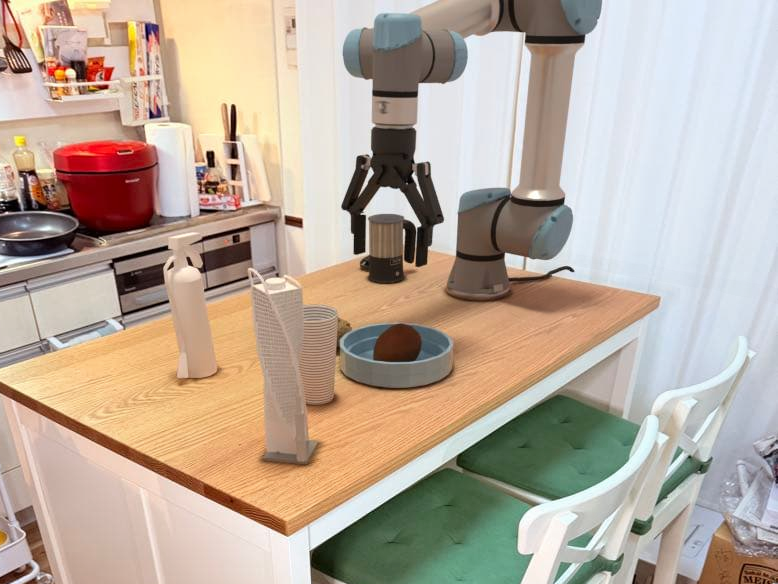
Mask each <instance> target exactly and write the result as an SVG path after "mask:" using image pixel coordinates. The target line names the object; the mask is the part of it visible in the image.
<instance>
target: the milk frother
mask: <svg viewBox="0 0 778 584" xmlns="http://www.w3.org/2000/svg"><path fill="white" fill-rule="evenodd" d="M405 218H406V217H405V216H404V215H401V214H396V213H377V214H372V215H370V216H368V217H367V220H368V244H369V246H368V248H369V249H368V250H369V255H367V256H365V257H363V258H362V259H361V260H360V261H359V267H360V268H361V269H362V270H364V271H369V273H368V277H367V279H368V280H369V281H371V282H374V283H380V284H393V283H397V282H401V281H402V280H404V278H405V275H404V262H405V263H406V264H413V263H414V262H415V259H416V241H417V227H416V225H415V224H414V222H412V221H411V220H409V219H405Z"/></svg>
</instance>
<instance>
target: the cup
mask: <svg viewBox="0 0 778 584" xmlns="http://www.w3.org/2000/svg"><path fill="white" fill-rule="evenodd" d="M303 311H304V335H303V347H302V355H301V361H300V366H299V370H300V374H301V378H302V383H303V388H304V394H305V401H306V404H307V405H314V406H315V405H324V404H327V403H329V402H331V401H332V400H333V399H334V396H335V380H336V379H335V378H336V362H337V347H336V345H337V327H338V318H339V311H338V309H337V308H335V307H333V306H329V305H325V304H303Z"/></svg>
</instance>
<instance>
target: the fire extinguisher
mask: <svg viewBox="0 0 778 584" xmlns="http://www.w3.org/2000/svg"><path fill="white" fill-rule="evenodd" d="M202 234H203V233H202V232H193V231H192V232H187V233H183V234H177V235H173V236H168V238H167V239H168V240H167V243H168V244H167V246H168V247H167V249H168V250H172V251H173V252H172V253H173V255H171V256H169V257H168V259H167V261H166V262H165V264H164V266H163V268H162V269H163V278H164V285H165V288H166V293H167V298H168V301H169V302H168V303H169V307H170V313H171V317H172V322H173V327H174V332H175V337H176V341H177V347H178V351H179V354H178V363H177V372H176V377H177V378H178V379H183V378H189V379H190V378H191V379H203V378H206V377H207V378H208V377H211V376H212V375H214V374H216V373H217V372H218V364H217V358H216V351H215V345H214V340H213V334H212V328H211V324H210V317H209V311H208V305H207V300H206V293H205V289H204V282H203V277H202V273H201V272H200V270H199V269H202V267H203V265H204V262H203V260H202V257H201V255H200V253H199V252H198V251H197V250H196V249H195V248H194V247H193V246H191V245H192V244H194V243H197V242H199V241H201V240H202V239H203V235H202ZM186 255H187V256H188V257H189V258H190V261H191V263H192V265H189V263H188V259H187V257H186ZM172 263H173V267H171V268H170V269H169V267H170V266H171V264H172Z"/></svg>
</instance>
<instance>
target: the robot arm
mask: <svg viewBox="0 0 778 584" xmlns="http://www.w3.org/2000/svg"><path fill="white" fill-rule="evenodd" d="M602 7H603V0H436V1H434V2H431V3H428V4H427V5H425V6H422V7H420V8H417V9H416V10H414V11H411V12H409V13H400V12H396V13H395V12H385V13H384V12H381V13H378V14H377V15H375V18H374V21H373V22H374V23H373V27H372V28H369V27H362V28H353V29H352V30H351V31H349V32H348V33H347V35H346V36H345V39H344V42H343V44H342V59H343V65H344V67H345V69H346V71H347V73H348V74H349V75H351V76H352V77H354V78H358V79H364V80H365V81H368V80H372V89H371V123H372V124H373V125H374V126H373V127H372V128H371V129H370V150H371V152H372V156H370V154H368V153H367V154H361V155H357V156H356V159H355V169H354V172H353V174H352V176H351V179H350V182H349V184H348V187H347V190H346V192H345V195H344V198H343V201H342V203H341V205H340V206H341V210H343V211H346V212H347V213H348V214H349V215H350V233H351V234H352V235H353V252H352V253H353V255H356V256H358V255H362V254H364V253H366V250H367V249H366V246H367V245H366V244H367V214H365V211H364V210H365V209H366V208H367V206H368V205H369V204H370V202H371V201H372V200H373V198H374V197H375V196H376V194H377V192H378V191H379V190H380V188H390V189H393V190H399V191H400V192H401V193H402V194H403V195H404V196H405V198H406V200H407V202H408V203H409V206H410V207H411V209H412V211H413V213H414V214H415V216H416V218H417V220H418V222H419V223H420V226H418V227H416V246H415V260H414V262H415V263H414V266H415V268H421V267H423V266H427V265H428V258H429V257H428V256H429V247H432V245H433V236H434V227H435V226H437V225H439V224H443V223H444V221H445V217H444V213H443V210H442V206H441V204H440V201H439V197H438V195H437V191H436V187H435V184H434V182H433V179H432V164H431V162H430V161H422V162H415V157H414V156H415V154H416V149H417V130H416V128H415V127H414V126H415V125H416V124H417V123H418V107H419V84H442V85H445V84H447V83H452V82H455V81H456V80H458V79H459V78H460V77H461V76H462V75H463V73H464V72H465V69H466V67H467V64H468V60H469V59H468V58H469V57H468V56H469V51H468V46H467V43H466V40H465V39H466V38H469V37H471V36H473V35H474V36H478V37H484V36H486V35H488V34H491V33H495V32H496V33H497V32H498V33H499V32H501V33H503V32H511V33H525V34H524V46H525V47H526V48H527V50H528V51H529V53H530V62H529V63H530V64H529V74H528V85H527V94H526V95H527V96H526V106H525V115H524V116H525V117H524V126H523V139H522V149H521V159H520V169H519V182H518V185H517V186H516V187H515V188H514V189H513V190H511V189H510V188H508V187H486V188H478V189H477V188H476V189H472V190H469V191H465V192H464V193H462V194H461V196H460V197H459V203H458V210H457V213H456V215H457V227H456V228H457V229H456V243H455V244H456V245H455V246H456V247H455V259H454V262H453V264H452V267H451V270H450V273H449V275H448V277H447V281H446V289H445V290H446V292H447V294H448V295H450V296H451V297H454V298H457V299H460V300H466V301H476V302H477V301H480V302H482V301H483V302H484V301H495V300H499V299H502V298H505V297H507V296H508V295H509V294H510V288H511V287H510V286H511V285H510V283H511V282H512V283H513V282H533V281H543V280H545V279H549V277H550V276H552V275H555V274H557V273H560V272H561V271H562V272H563V271H569V272H570V273H575V270H574V268H573V267H572V266H569V265H564V266H560V267H558V268H555V269H553V270H550V271H548V272H547V273H546V274H544V275H537V276H522V277H509V275H508V269H507V265H506V260H505V258H506V254H510V255H513V256H519V257H524V258H529V259H530V260H539V261H540V260H542V261H549V260H552V259H554V258H556V256H558V255H559V254H560V252H561V251H562V250H563V249H564V247H565V245H566V244H567V242H568V240H569V238H570V235H571V232H572V228H573V224H574V223H573V222H574V214H573V210H572V208H571V207H570V206H568V204H567V205H566V204H565V202H566V201H565V200H566V192H565V191H564V190H563V189H562V187H561V186H560V183H561V175H562V167H563V160H564V159H563V158H564V152H565V151H564V150H565V142H566V135H567V126H568V118H569V111H570V103H571V101H570V100H571V94H572V93H571V92H572V85H573V78H574V77H573V76H574V67H575V60H576V55H577V53H578V52H579V50H580V49H582V48H583V47H584V45H585V44H586V35H588V34H590V33H592V32H593V31H594V30H595V29H596V27H597V25H598V20H599V19H600V17H601V14H602ZM370 169H371V170H372V172H373V174H372V175H371V176H370V178H369V179H368V181H367V184H366V186H365V187H364V184H365V181H366V179H367V177H368V175H369V172H370V171H369V170H370ZM413 174H414V176H415V177H416V179H417V182H416V181H415V179H414V177H413ZM417 183H418V185H417ZM363 187H364V188H363ZM417 187H419V189H418V188H417ZM362 189H363V190H362ZM419 190H420V191H419Z"/></svg>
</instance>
